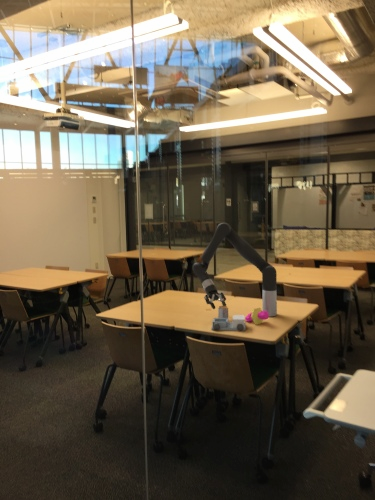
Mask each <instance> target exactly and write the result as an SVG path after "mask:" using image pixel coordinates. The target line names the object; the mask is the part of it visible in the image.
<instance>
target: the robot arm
mask: <svg viewBox="0 0 375 500" xmlns="http://www.w3.org/2000/svg"><path fill="white" fill-rule="evenodd" d="M224 239H226V240H227V241H228V242H230V244H231V245H232V246H233V248H234V249H235V250H236V251H237V253H238V254H239V255H240V256H242V258H243V259H244V260H246V261H247V262H249V263H250V264H251V265H253V266H254V267H256V269H258V271H259V272H260V273H261V274H262V276H261V279H262V280H261V281H262V283H261V286H262V288H261V289H262V292H261V293H262V297H261V299H262V311H267V312H268V314H269V317H277V316H278V312H277V311H278V305H277V303H278V302H277V284H278V283H277V279H278V278H277V275H278V274H277V270H276V267H275V266H273V265H271V264H270V263H269V262H268V261H266V260H265V259H264V258H263V256H261V255H260V254H259V253H258V251H257V250H256V249H255V248H254V247H253V246H252V245H251V244H250V243H249V242H247V241H246V240H245V239H244V238H243V237H241V236H240V235H239V234H238V233H237V232H236V231H235V230H234V229H233V227H231V225H230V224H229V223H227V222H221V223H219V224H218V225H217V226H216V230H215V231H214V235H213V237H212V238H211V239H210V242H209V244H208V245H207V246H206V248H205V249H204V251H203V253H202V254H201V256H200V260H201V263H200V262H195V263H193V264H192V272H193V273H194V275H195V276H196V277H197V278H198V280H199V281H200V283H201V285H202V287H203V290H204V291H205V295H204V297H203V299H204V300H205V302H206V305H210V307H211V308H212V309H213V310H215V309H216V306H215V304H214V302H216V301H218V302H220V303H221V306H223V305H224V306H227V304H226V300H227V297H226V296H225V294H224V293H223V292H222V291H221V292H218V289H217V287H216V285H215V283H214V282H213V281H214V280H212V278H211V276H210V274H209V273H208V272H207V271H208V270H209V265H210V262H211V260H212V259H213V257H214V256H215V254H216V252H217V250H218V248H219V246H220V244H221V243H222V241H223V240H224Z"/></svg>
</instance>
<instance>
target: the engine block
mask: <svg viewBox="0 0 375 500" xmlns="http://www.w3.org/2000/svg"><path fill="white" fill-rule="evenodd" d="M217 311H218V313H217V314H218V315H217V318H228V319H229V307H228V306H227V305H226V306H224V305H220V306H218V308H217Z"/></svg>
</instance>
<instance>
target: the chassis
mask: <svg viewBox="0 0 375 500" xmlns="http://www.w3.org/2000/svg"><path fill="white" fill-rule="evenodd" d="M245 318H246V316H245V314H233V315H232V321H231V322H229V317H228V318H218V317H213V319H212V325H211V331H216V332H217V331H232V332H233V331H238V332H243V331H244V332H245V331H246V322H245V321H246V320H245Z"/></svg>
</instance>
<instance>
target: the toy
mask: <svg viewBox="0 0 375 500" xmlns="http://www.w3.org/2000/svg"><path fill="white" fill-rule="evenodd" d="M269 317H270V316H269V314H268V312H267V311H263V309H261V307H257V308H254V309H253V310H252V312H250V313H248V314H247V315H246V316H245V321H246V322H249V323H251V322H253V323H254V325H258V324H260V325H261V324H262V323H263V322H264V320H267V319H269Z"/></svg>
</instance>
